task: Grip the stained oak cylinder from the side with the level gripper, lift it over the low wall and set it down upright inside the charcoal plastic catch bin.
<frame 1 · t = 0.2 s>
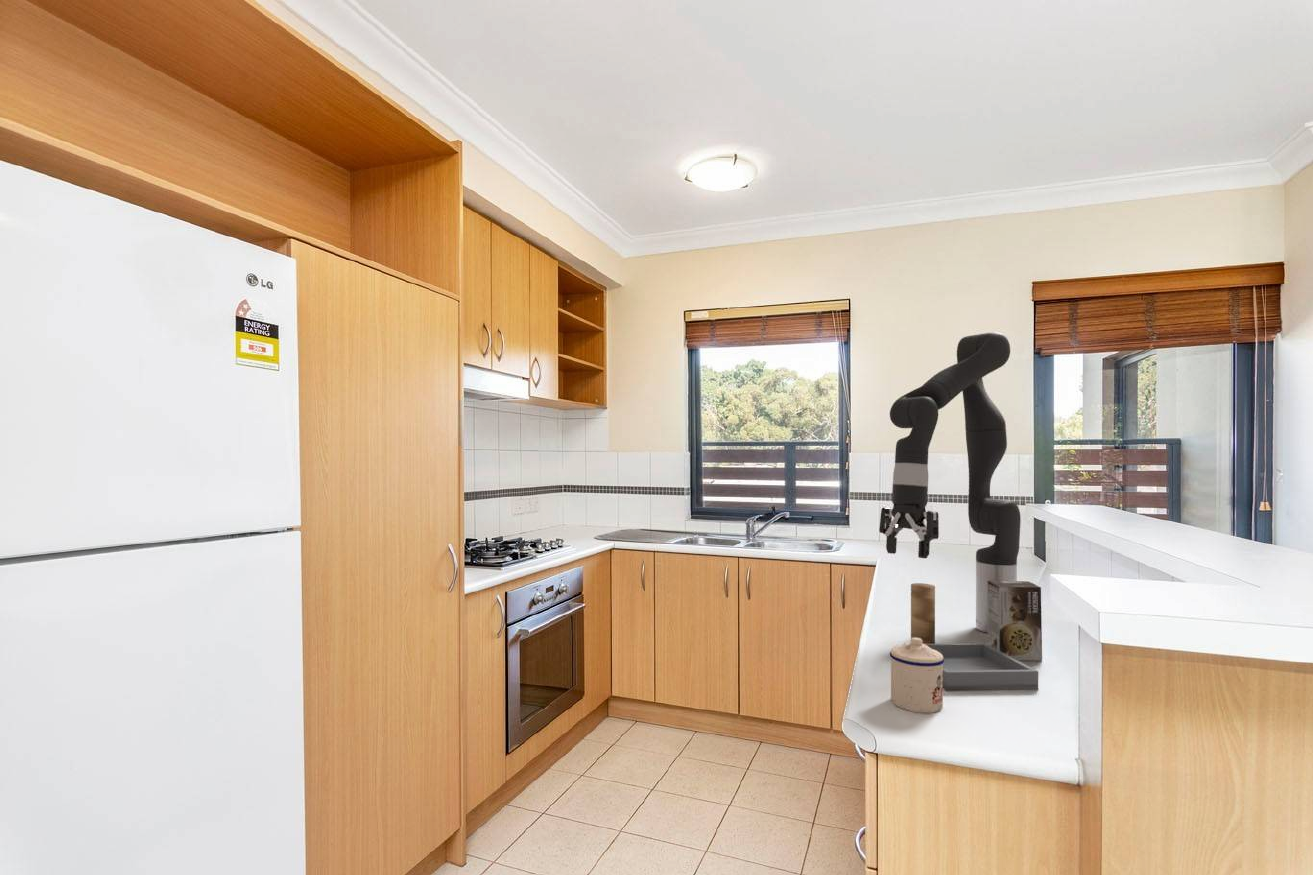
hand: (906, 555, 147), 22 cm above the table, tool pointing down, fingers open, 8 cm apart
oak cylinder: (922, 645, 151), on the table
coffee box: (1014, 656, 144), on the table
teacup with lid: (916, 702, 117), on the table
catch bin: (966, 673, 132), on the table
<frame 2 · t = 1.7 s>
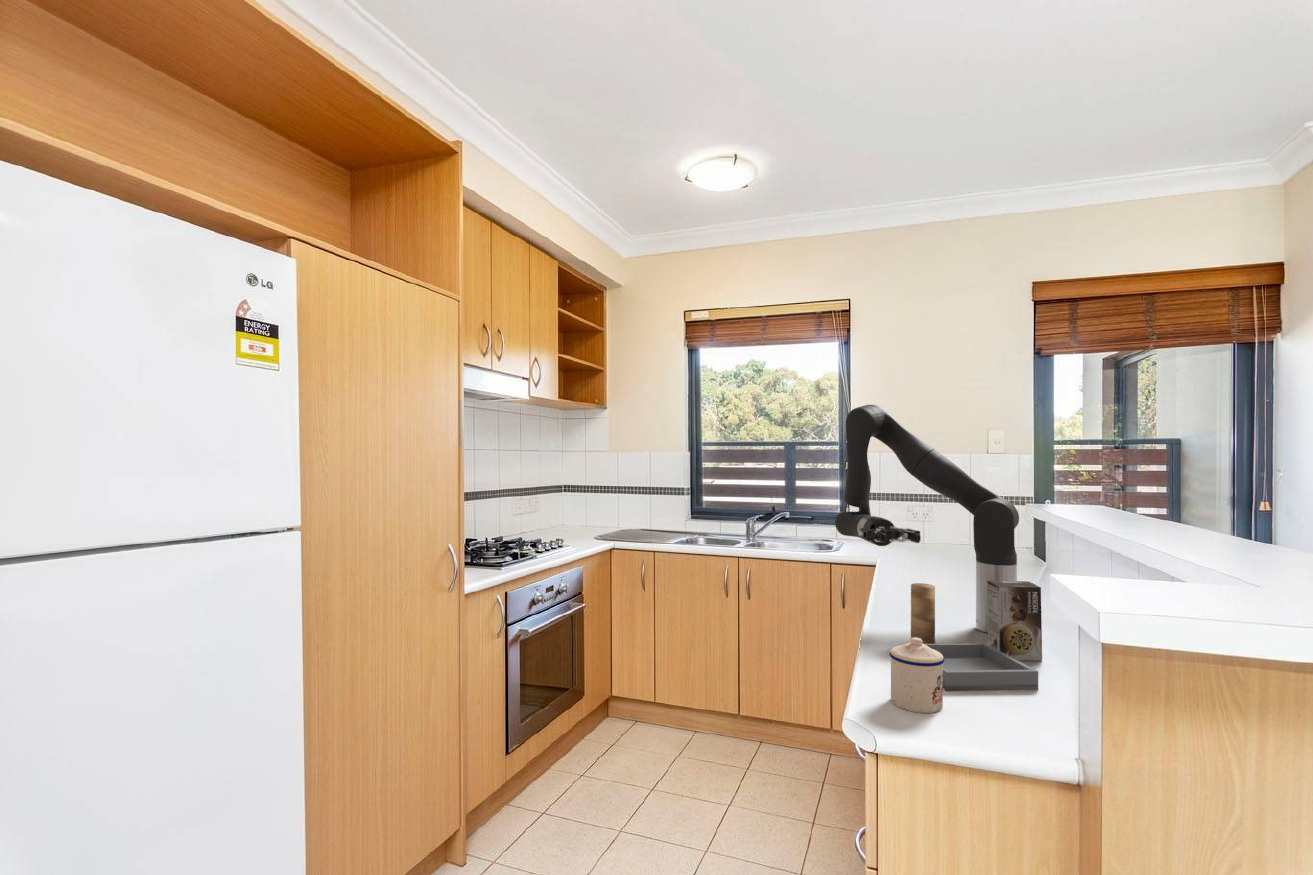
hand: (901, 538, 162), 23 cm above the table, tool horizontal, fingers open, 8 cm apart
nothing on the table moved.
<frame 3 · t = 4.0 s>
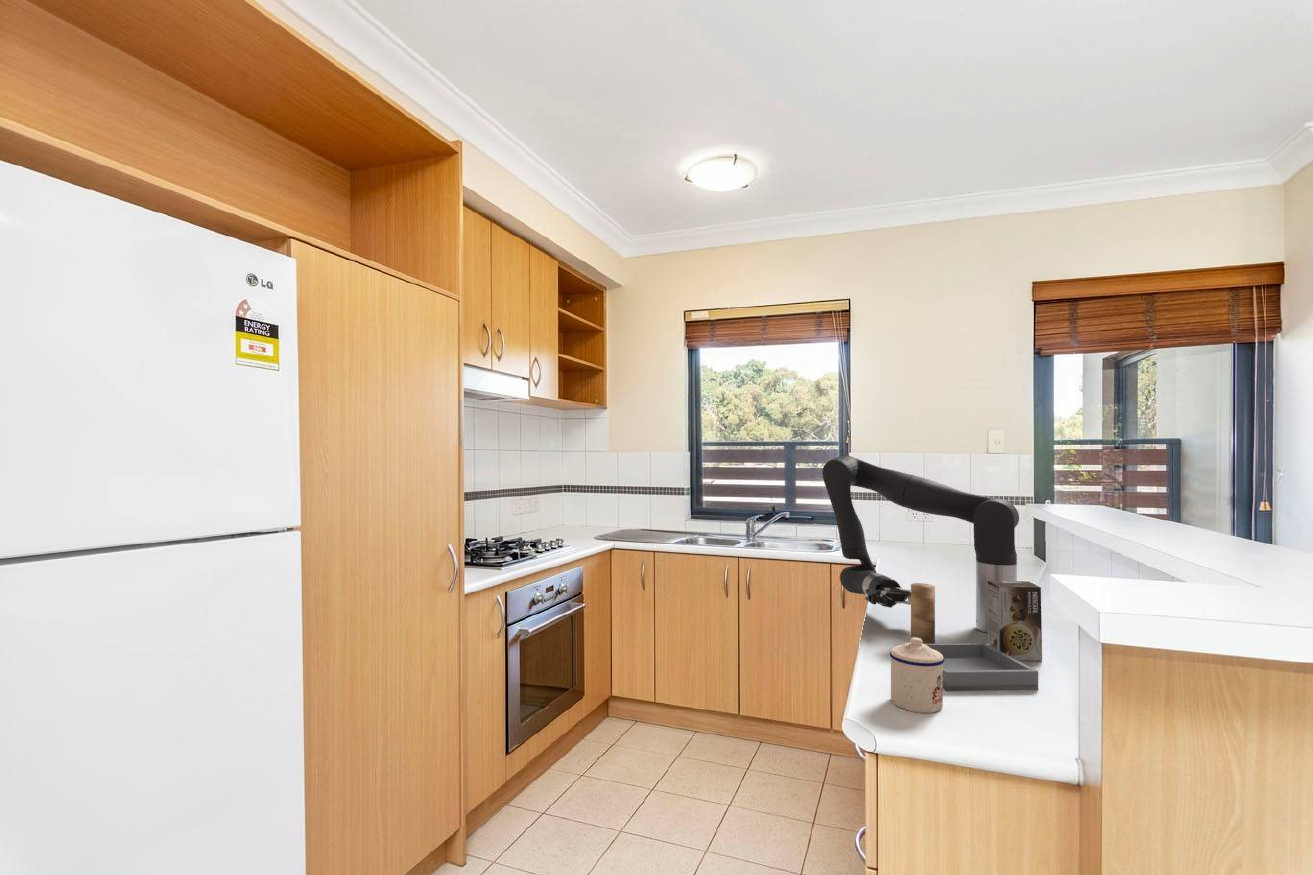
hand: (908, 603, 158), 8 cm above the table, tool horizontal, fingers open, 8 cm apart
nothing on the table moved.
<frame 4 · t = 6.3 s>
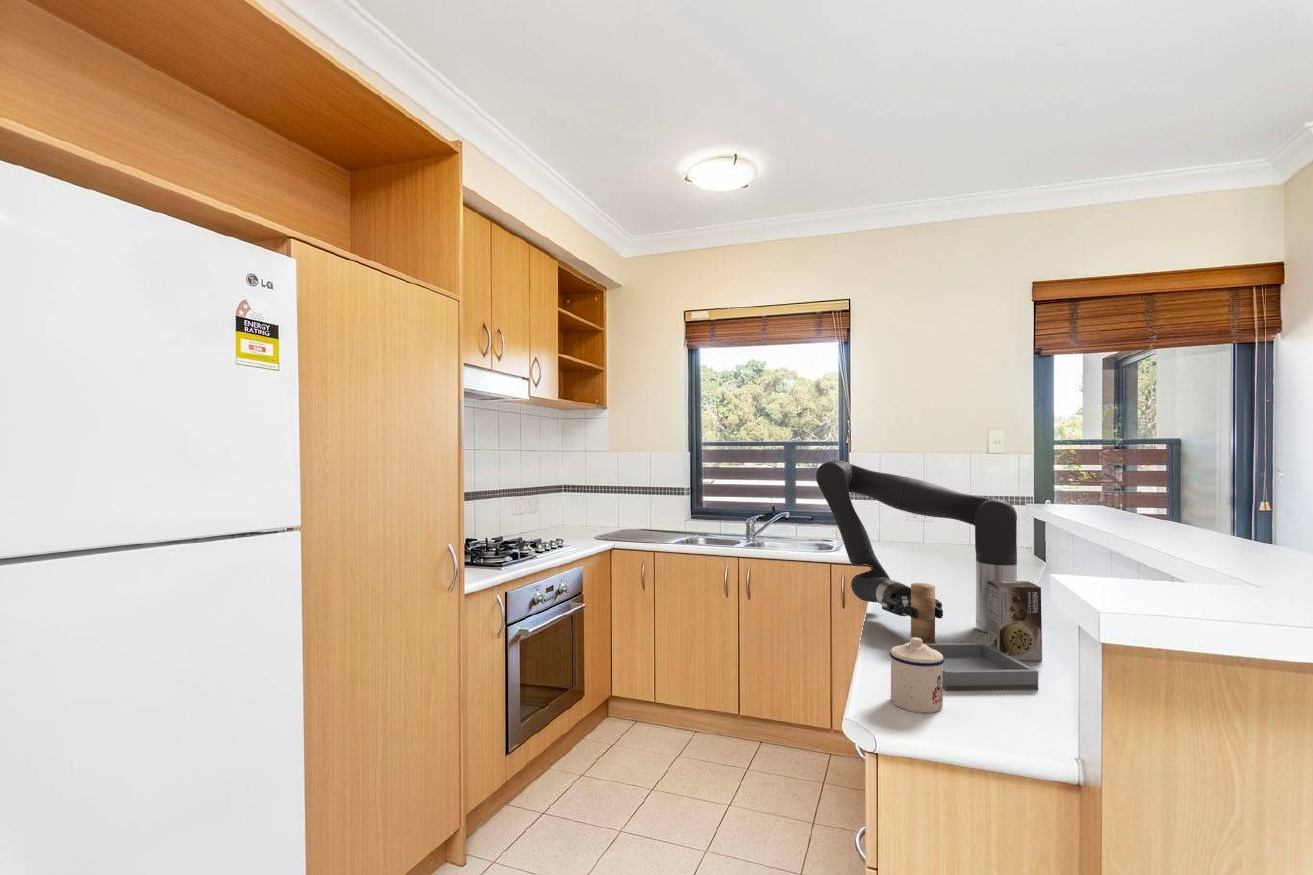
hand: (928, 613, 148), 8 cm above the table, tool horizontal, fingers closed on oak cylinder, 5 cm apart
oak cylinder: (922, 645, 151), on the table, touching gripper
everything else where it was.
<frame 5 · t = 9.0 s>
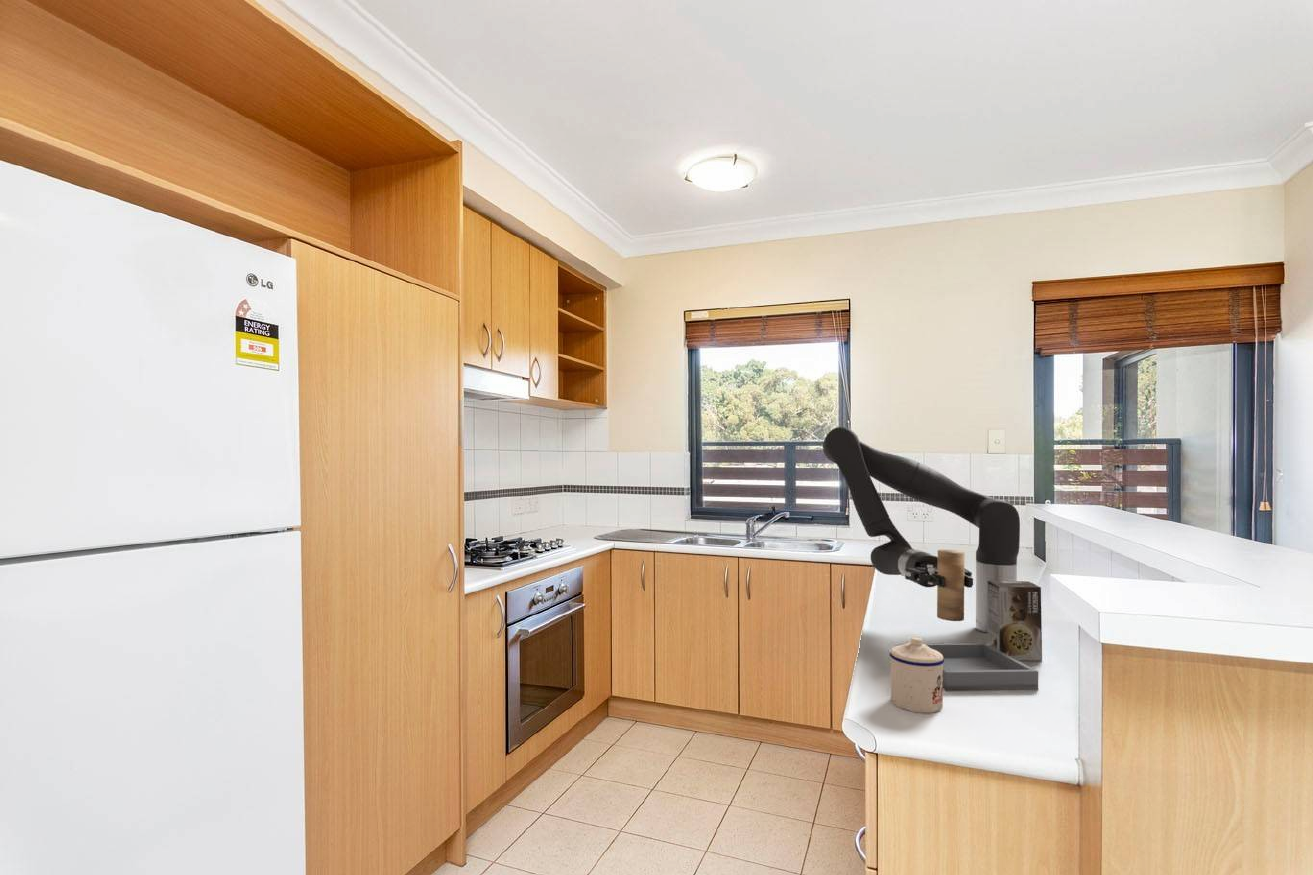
hand: (957, 582, 135), 18 cm above the table, tool horizontal, fingers closed on oak cylinder, 5 cm apart
oak cylinder: (950, 617, 137), point 10 cm above the table, touching gripper
everything else where it was.
when the fingers open (10 cm above the table, at t = 11.8 s): oak cylinder drops 1 cm, resting on catch bin.
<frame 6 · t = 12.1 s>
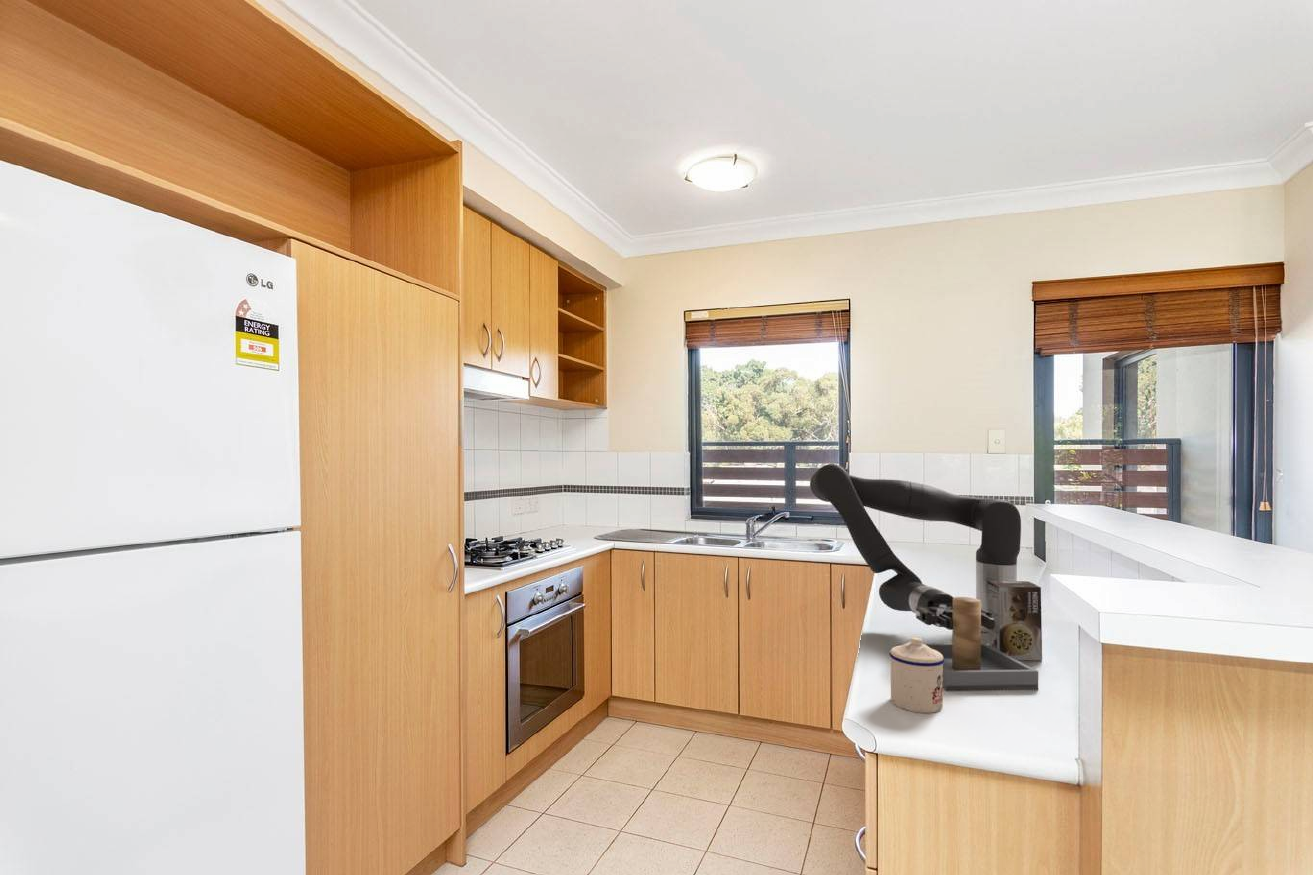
hand: (972, 624, 130), 10 cm above the table, tool horizontal, fingers open, 8 cm apart
oak cylinder: (966, 668, 132), point 1 cm above the table, touching catch bin
everything else where it was.
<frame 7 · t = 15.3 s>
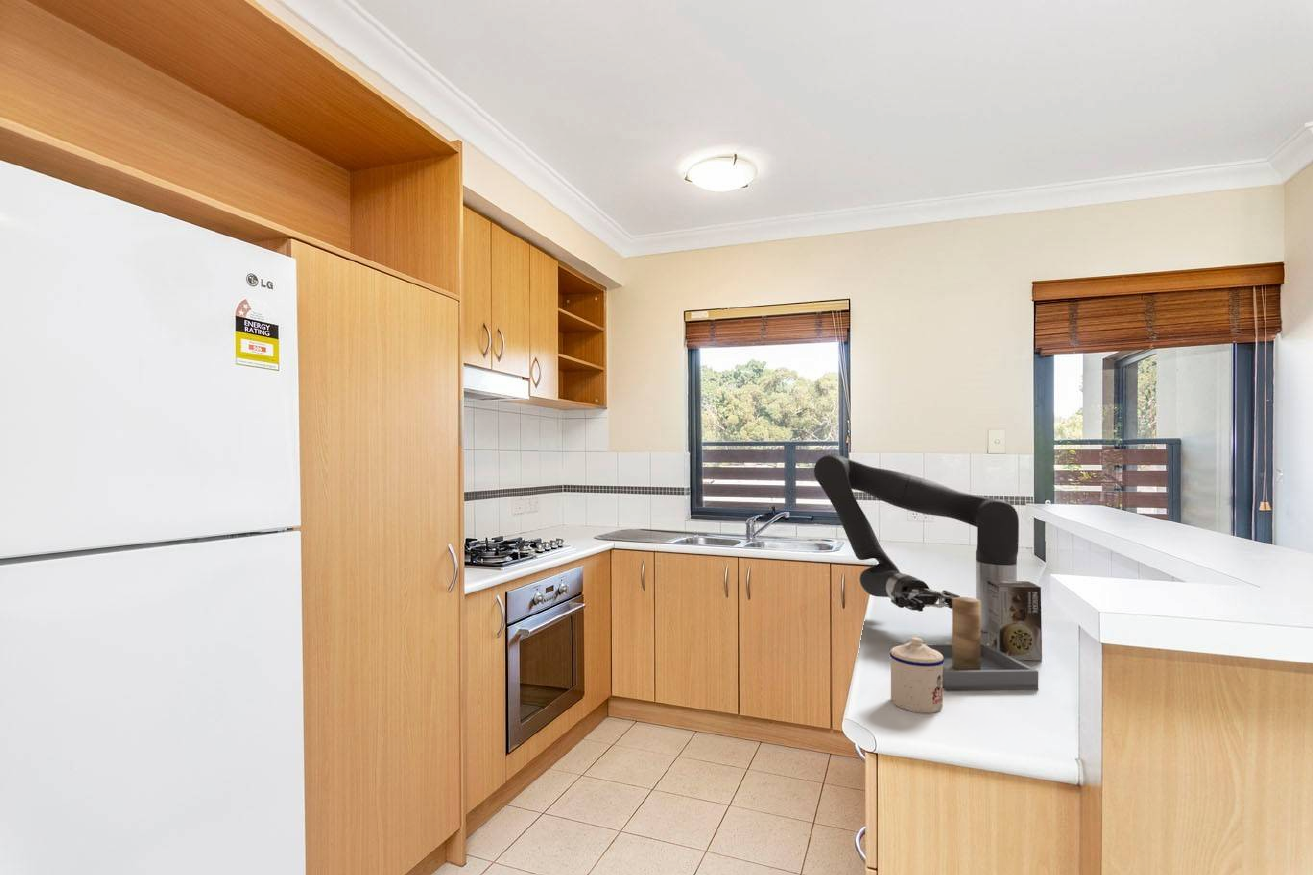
hand: (940, 606, 143), 11 cm above the table, tool horizontal, fingers open, 8 cm apart
nothing on the table moved.
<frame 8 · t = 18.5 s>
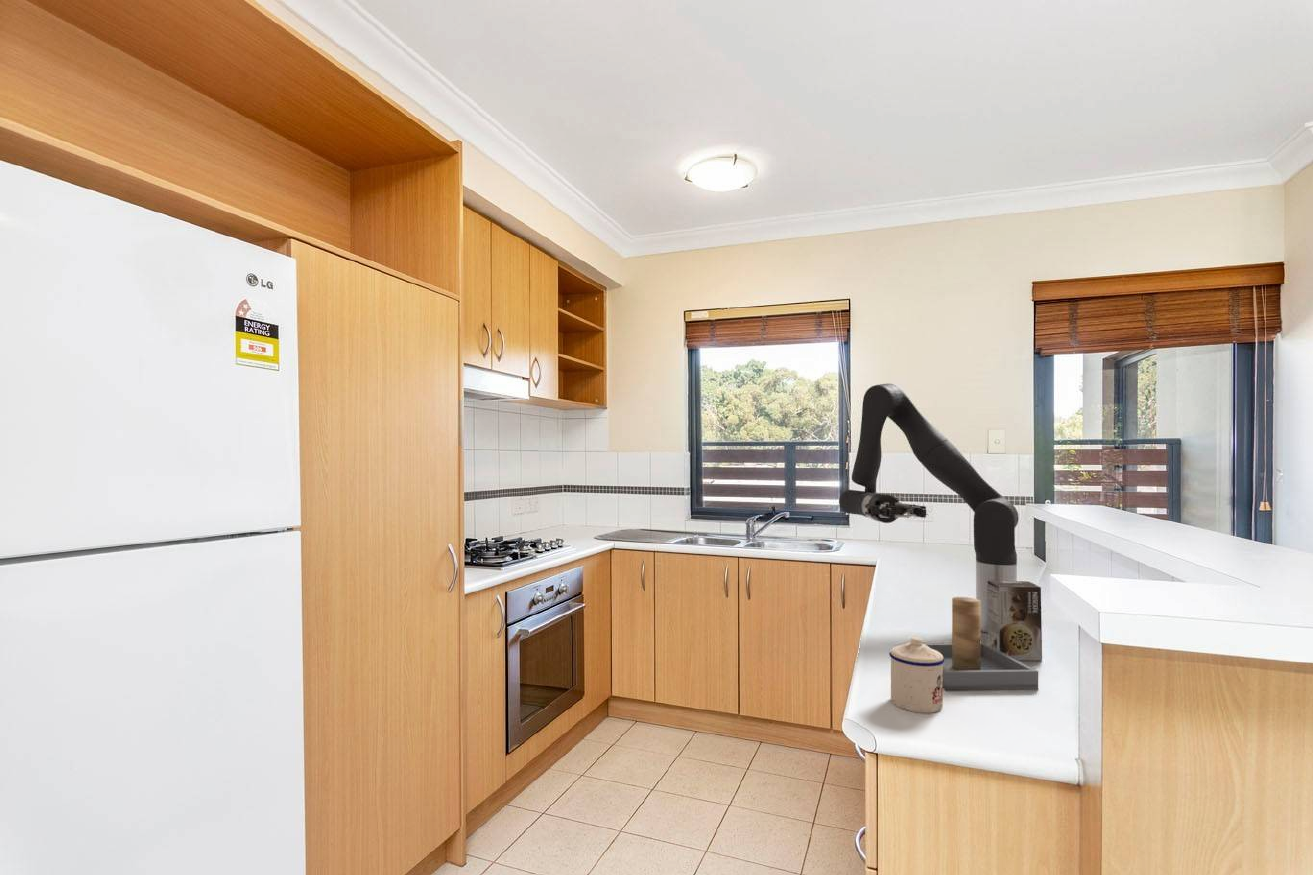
hand: (907, 513, 159), 30 cm above the table, tool horizontal, fingers open, 8 cm apart
nothing on the table moved.
at the end: oak cylinder inside the target area on the catch bin (0.1 cm from its centre), point 1.0 cm above the catch bin's base; oak cylinder tilted 0°; the gripper is holding nothing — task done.
